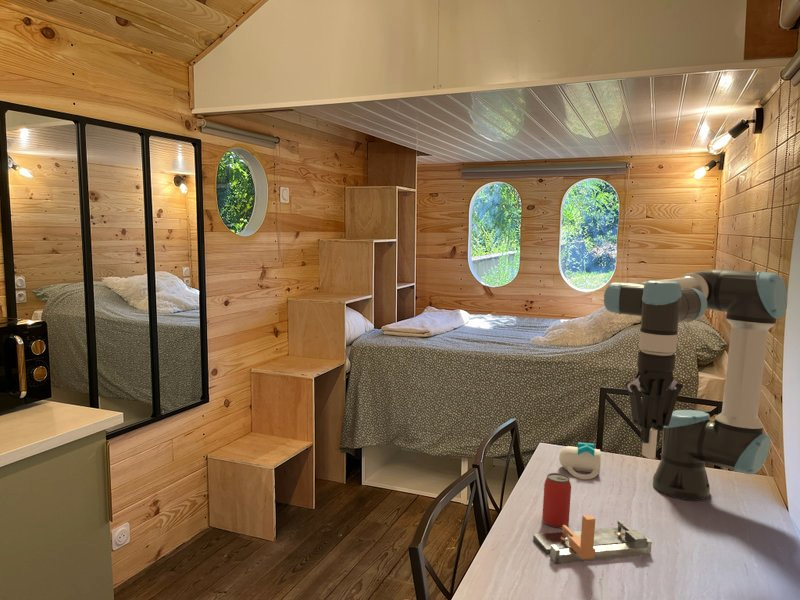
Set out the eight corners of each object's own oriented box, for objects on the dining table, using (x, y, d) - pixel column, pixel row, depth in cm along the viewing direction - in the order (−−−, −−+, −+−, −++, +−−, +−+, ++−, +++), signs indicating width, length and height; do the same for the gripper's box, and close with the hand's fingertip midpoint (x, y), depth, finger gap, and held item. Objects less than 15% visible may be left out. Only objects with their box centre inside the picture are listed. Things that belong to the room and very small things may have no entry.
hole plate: (622, 531, 152) (623, 526, 152) (639, 545, 145) (640, 540, 145) (533, 539, 146) (533, 534, 146) (546, 554, 140) (546, 549, 140)
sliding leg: (569, 534, 146) (571, 496, 145) (594, 559, 134) (597, 518, 133) (557, 535, 145) (559, 497, 144) (582, 561, 134) (585, 519, 133)
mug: (560, 435, 192) (600, 439, 190) (558, 457, 197) (597, 461, 194) (560, 462, 183) (602, 467, 180) (558, 484, 187) (599, 489, 184)
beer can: (569, 530, 152) (572, 483, 150) (542, 526, 153) (545, 480, 152) (567, 518, 158) (570, 473, 157) (541, 515, 159) (544, 470, 158)
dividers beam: (628, 536, 149) (630, 519, 149) (651, 555, 141) (652, 537, 140) (537, 544, 144) (538, 527, 144) (555, 564, 135) (556, 546, 135)
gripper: (672, 348, 138) (663, 449, 141) (620, 348, 135) (612, 451, 138) (694, 354, 131) (685, 461, 133) (640, 355, 128) (632, 464, 131)
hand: (648, 456), depth 136 cm, fingers closed
